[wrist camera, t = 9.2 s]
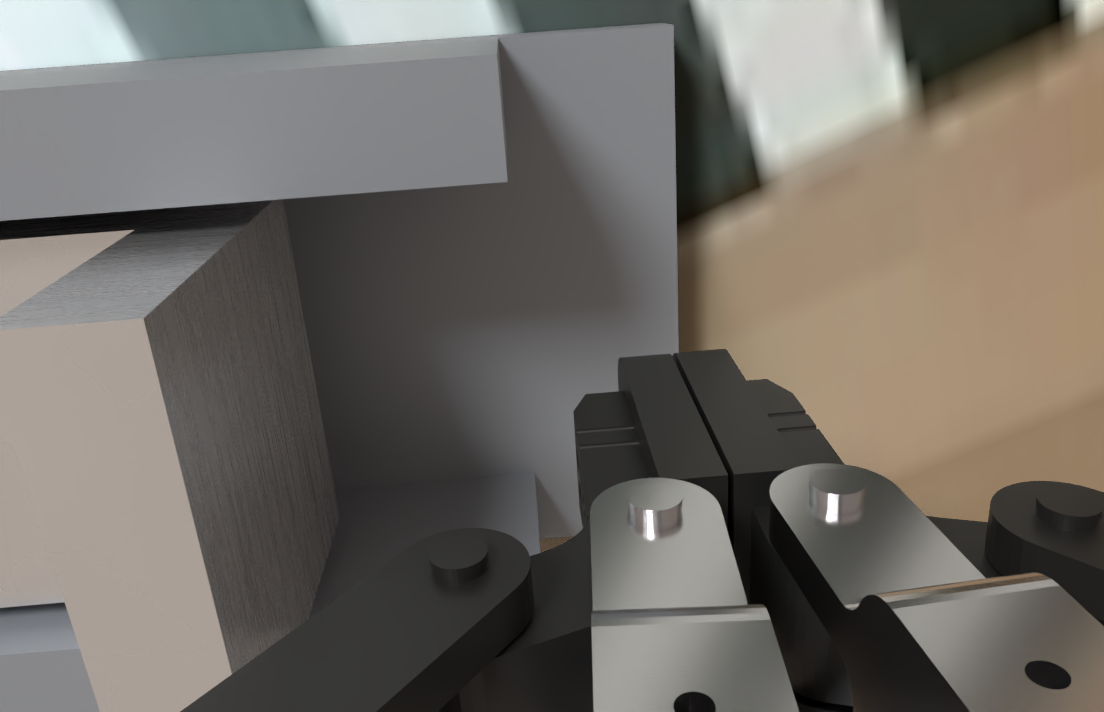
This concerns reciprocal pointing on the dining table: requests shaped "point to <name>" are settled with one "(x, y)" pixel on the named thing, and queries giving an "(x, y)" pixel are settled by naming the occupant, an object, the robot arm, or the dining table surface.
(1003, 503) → the robot arm
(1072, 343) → the dining table surface
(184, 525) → the notched taupe block
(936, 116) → the dining table surface
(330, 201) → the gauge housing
